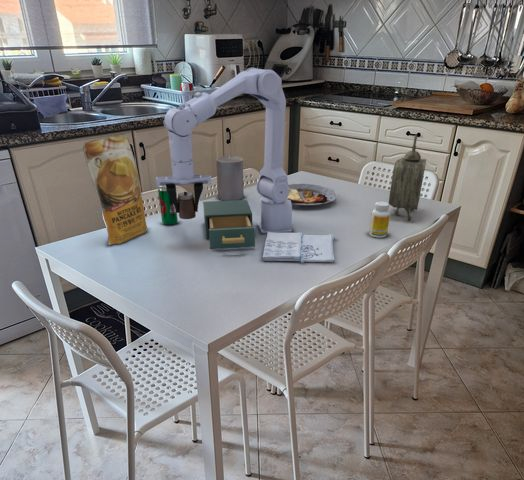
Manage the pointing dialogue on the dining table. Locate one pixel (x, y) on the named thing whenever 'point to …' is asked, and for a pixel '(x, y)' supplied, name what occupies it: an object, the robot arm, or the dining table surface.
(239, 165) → the pillar candle
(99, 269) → the dining table surface
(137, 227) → the pancake mix bag
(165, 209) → the soda can
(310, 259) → the open sketchbook
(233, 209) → the cabinet
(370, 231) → the supplement bottle
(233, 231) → the drawer
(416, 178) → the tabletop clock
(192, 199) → the pepper mill
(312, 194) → the food plate
